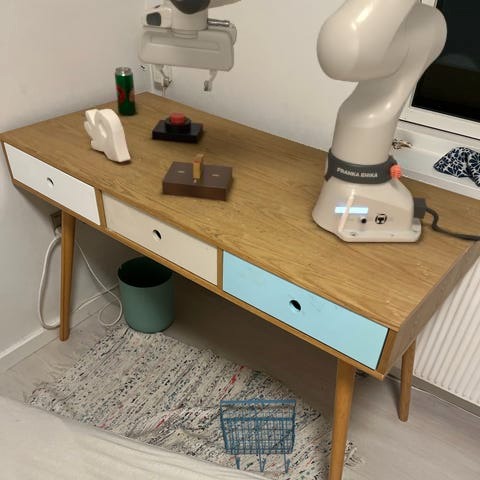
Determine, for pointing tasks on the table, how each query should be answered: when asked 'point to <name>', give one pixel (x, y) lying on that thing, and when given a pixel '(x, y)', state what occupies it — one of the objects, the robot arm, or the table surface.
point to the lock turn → (198, 166)
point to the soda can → (125, 91)
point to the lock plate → (197, 181)
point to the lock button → (177, 118)
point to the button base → (177, 131)
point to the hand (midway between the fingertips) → (186, 88)
